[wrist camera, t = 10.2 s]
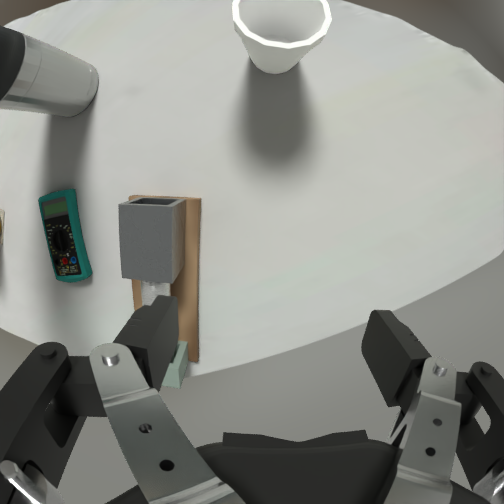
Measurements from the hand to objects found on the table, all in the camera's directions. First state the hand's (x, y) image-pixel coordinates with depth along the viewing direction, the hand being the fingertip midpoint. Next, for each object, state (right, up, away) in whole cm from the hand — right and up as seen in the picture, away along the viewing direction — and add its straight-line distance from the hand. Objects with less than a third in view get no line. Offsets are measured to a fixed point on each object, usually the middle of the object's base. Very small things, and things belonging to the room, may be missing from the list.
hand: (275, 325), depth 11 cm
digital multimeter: (-31, +6, +29) cm, 43 cm away
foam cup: (+2, +29, +20) cm, 36 cm away
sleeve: (-13, +6, +26) cm, 30 cm away
